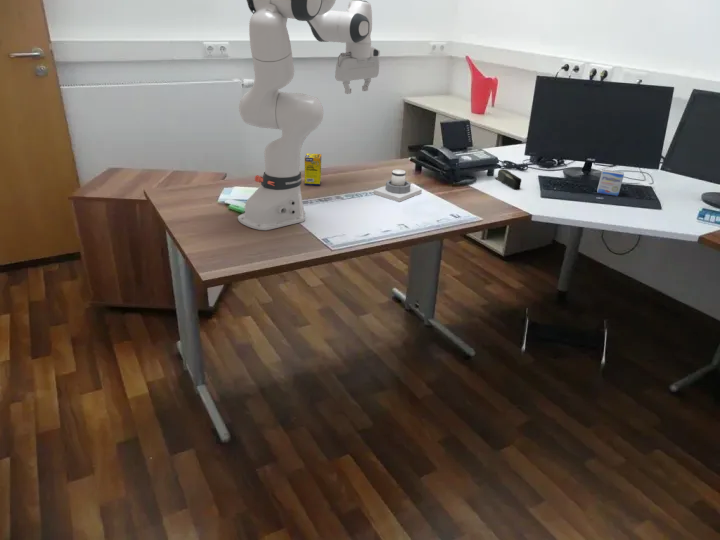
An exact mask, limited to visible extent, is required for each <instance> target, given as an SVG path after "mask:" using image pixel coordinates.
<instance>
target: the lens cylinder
mask: <svg viewBox="0 0 720 540" xmlns="http://www.w3.org/2000/svg"><path fill="white" fill-rule="evenodd" d="M406 174H407V173H406V170H404V169H399V168H398V169H395V168H394V169H393V170H392V171H391V179H390V180H391V185H393V186H405V181H406Z"/></svg>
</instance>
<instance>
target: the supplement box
mask: <svg viewBox="0 0 720 540" xmlns="http://www.w3.org/2000/svg"><path fill="white" fill-rule="evenodd" d="M321 183H322V153H306V154H305V156H304V186H313V187H320V186H321Z"/></svg>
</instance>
